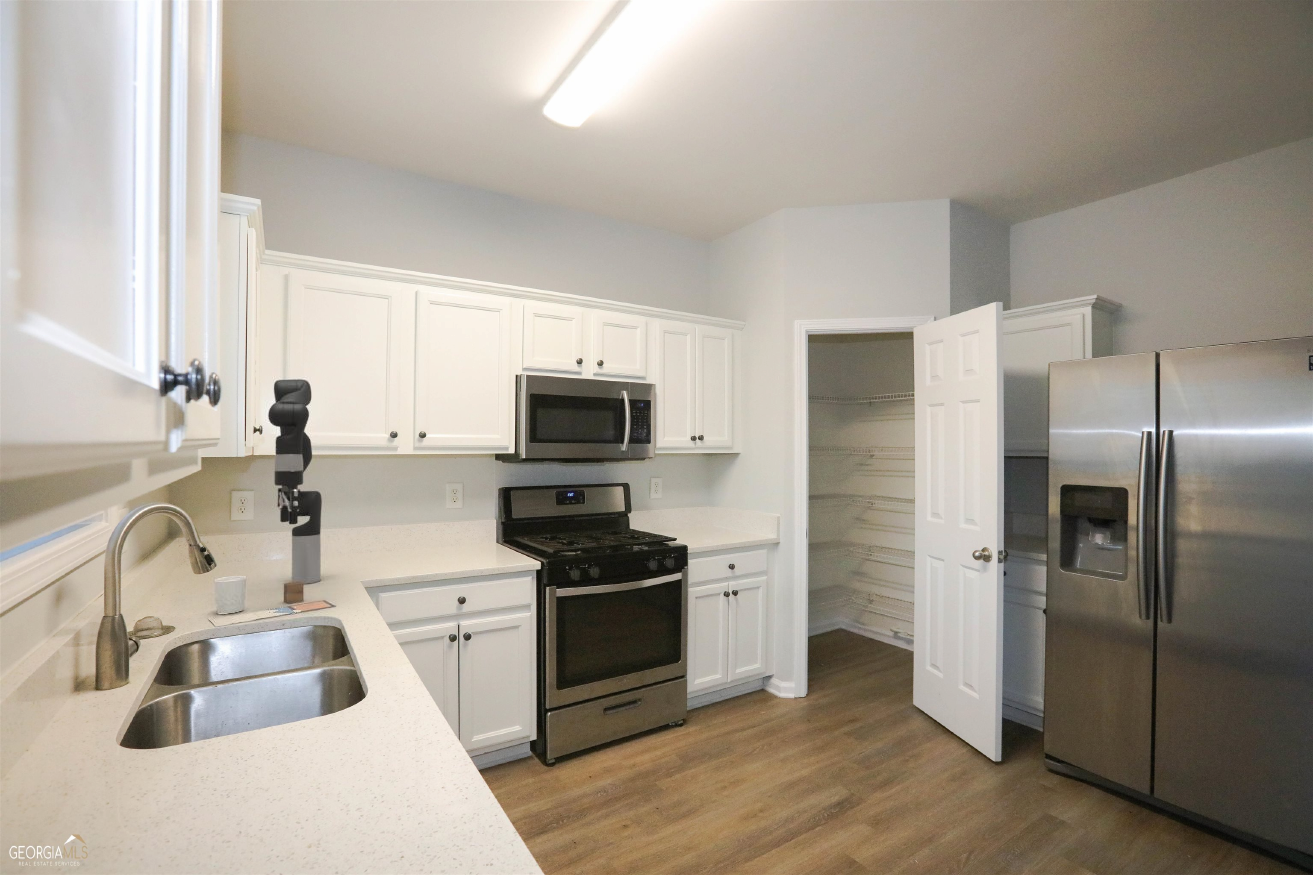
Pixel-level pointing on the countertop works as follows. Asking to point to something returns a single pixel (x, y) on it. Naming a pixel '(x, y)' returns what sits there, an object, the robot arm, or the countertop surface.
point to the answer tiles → (304, 607)
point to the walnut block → (293, 592)
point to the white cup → (230, 594)
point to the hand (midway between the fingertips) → (288, 523)
